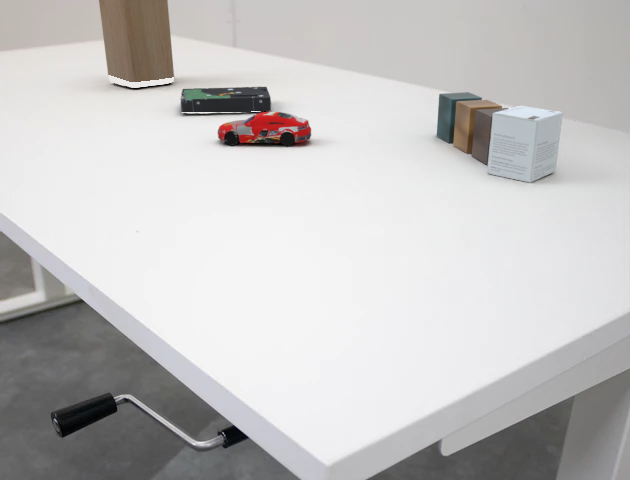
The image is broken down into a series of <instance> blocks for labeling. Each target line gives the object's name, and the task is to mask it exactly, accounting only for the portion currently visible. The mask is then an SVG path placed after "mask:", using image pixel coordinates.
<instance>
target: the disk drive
mask: <svg viewBox="0 0 630 480" xmlns="http://www.w3.org/2000/svg"><path fill="white" fill-rule="evenodd" d="M180 95H181V96H180V113H181V112H251V111H263V112H264V111H266V112H272V101H271V100H272V99H271V95H270V92H269V90H268V87H267V86H240V87H239V86H236V87H201V88H200V87H199V88H197V87H194V88H182V89H181V92H180Z"/></svg>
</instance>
